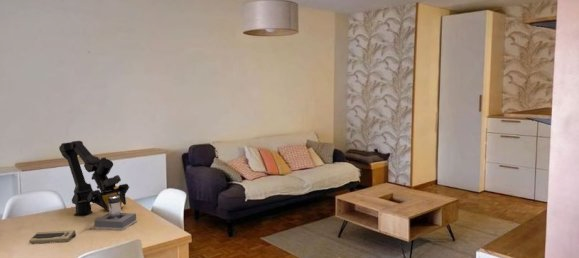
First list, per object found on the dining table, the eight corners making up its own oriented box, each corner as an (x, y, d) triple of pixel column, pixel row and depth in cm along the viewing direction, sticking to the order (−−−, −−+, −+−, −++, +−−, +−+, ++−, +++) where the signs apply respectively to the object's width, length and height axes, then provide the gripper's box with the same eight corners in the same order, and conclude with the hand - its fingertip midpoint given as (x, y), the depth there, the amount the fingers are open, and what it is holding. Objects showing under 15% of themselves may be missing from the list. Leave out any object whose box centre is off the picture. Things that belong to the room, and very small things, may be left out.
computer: (29, 245, 173) (28, 237, 172) (38, 238, 181) (37, 230, 180) (68, 243, 174) (67, 235, 174) (76, 236, 182) (75, 229, 182)
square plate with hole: (94, 228, 190) (94, 220, 190) (109, 220, 202) (109, 212, 201) (122, 230, 188) (122, 221, 187) (136, 221, 200) (135, 213, 199)
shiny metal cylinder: (109, 225, 192) (107, 198, 190) (110, 221, 196) (108, 195, 195) (121, 224, 193) (119, 197, 192) (122, 220, 198) (120, 194, 196)
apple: (100, 213, 213) (99, 189, 212) (102, 207, 223) (101, 184, 222) (123, 211, 217) (122, 187, 215) (124, 205, 227) (123, 182, 225)
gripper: (88, 174, 187) (103, 201, 182) (126, 167, 202) (140, 192, 197) (81, 188, 192) (95, 215, 187) (118, 181, 207) (131, 205, 202)
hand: (116, 206), depth 193 cm, fingers open, 9 cm apart
